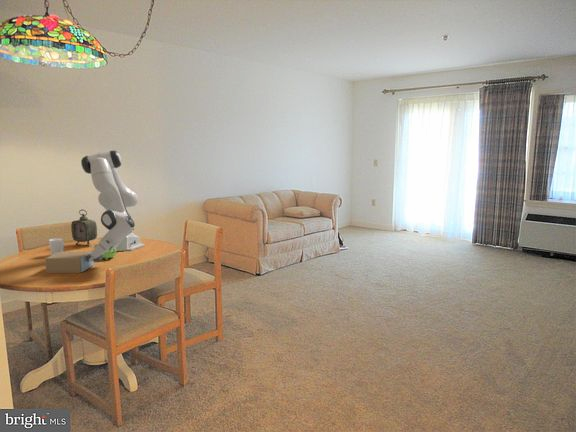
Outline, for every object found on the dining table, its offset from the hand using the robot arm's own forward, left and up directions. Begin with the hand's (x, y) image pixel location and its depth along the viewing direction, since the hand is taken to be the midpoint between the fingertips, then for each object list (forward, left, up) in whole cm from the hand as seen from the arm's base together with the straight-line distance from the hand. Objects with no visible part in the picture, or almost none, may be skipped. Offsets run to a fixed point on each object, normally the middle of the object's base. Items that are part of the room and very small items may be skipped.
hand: (94, 258), depth 223 cm
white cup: (-10, -47, -6) cm, 48 cm away
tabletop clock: (-36, -55, -6) cm, 66 cm away
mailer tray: (+4, -8, -5) cm, 10 cm away
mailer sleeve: (+6, -12, -6) cm, 15 cm away
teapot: (-19, -14, -6) cm, 24 cm away
